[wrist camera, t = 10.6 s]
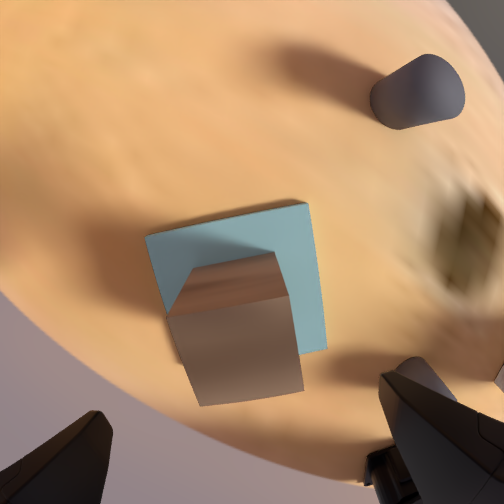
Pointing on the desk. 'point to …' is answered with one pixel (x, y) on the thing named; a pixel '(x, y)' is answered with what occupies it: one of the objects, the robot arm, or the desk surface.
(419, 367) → the cylinder
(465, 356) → the desk surface
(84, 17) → the desk surface
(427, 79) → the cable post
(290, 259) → the pale teal mat
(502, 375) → the supplement box
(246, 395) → the walnut block
